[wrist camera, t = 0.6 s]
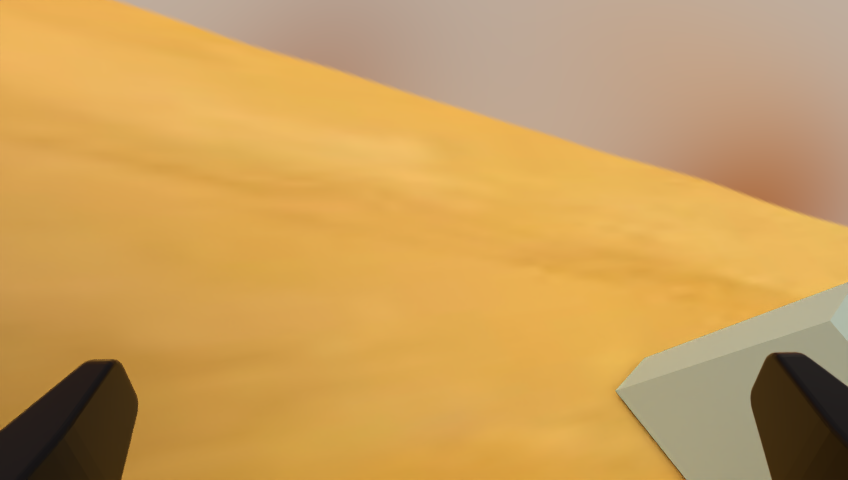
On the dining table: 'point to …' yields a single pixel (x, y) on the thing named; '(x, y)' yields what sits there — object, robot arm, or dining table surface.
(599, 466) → the dining table surface
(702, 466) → the pale green flat block
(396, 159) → the dining table surface
